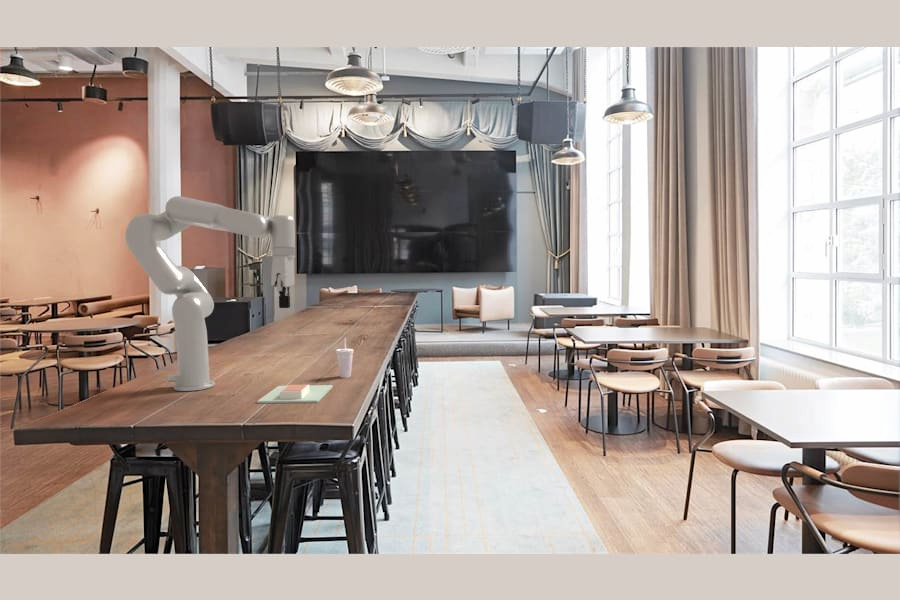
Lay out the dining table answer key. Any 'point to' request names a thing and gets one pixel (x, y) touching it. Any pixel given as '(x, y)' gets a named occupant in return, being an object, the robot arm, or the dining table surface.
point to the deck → (294, 391)
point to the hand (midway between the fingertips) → (284, 307)
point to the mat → (310, 397)
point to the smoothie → (345, 361)
